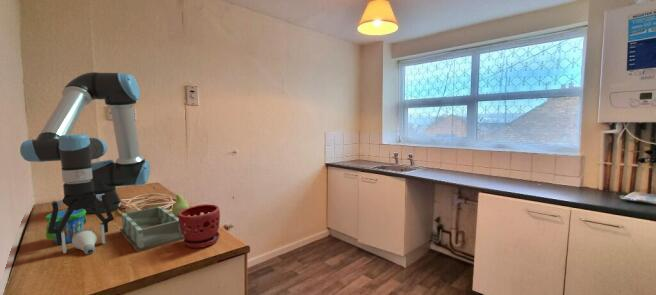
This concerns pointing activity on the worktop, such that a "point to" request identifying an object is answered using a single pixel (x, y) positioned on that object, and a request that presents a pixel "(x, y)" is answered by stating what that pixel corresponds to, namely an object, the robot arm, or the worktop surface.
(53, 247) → the worktop surface
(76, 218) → the blue plastic tub
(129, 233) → the grey plastic crate
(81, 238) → the light bulb
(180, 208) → the fruit
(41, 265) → the worktop surface
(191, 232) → the plant pot
